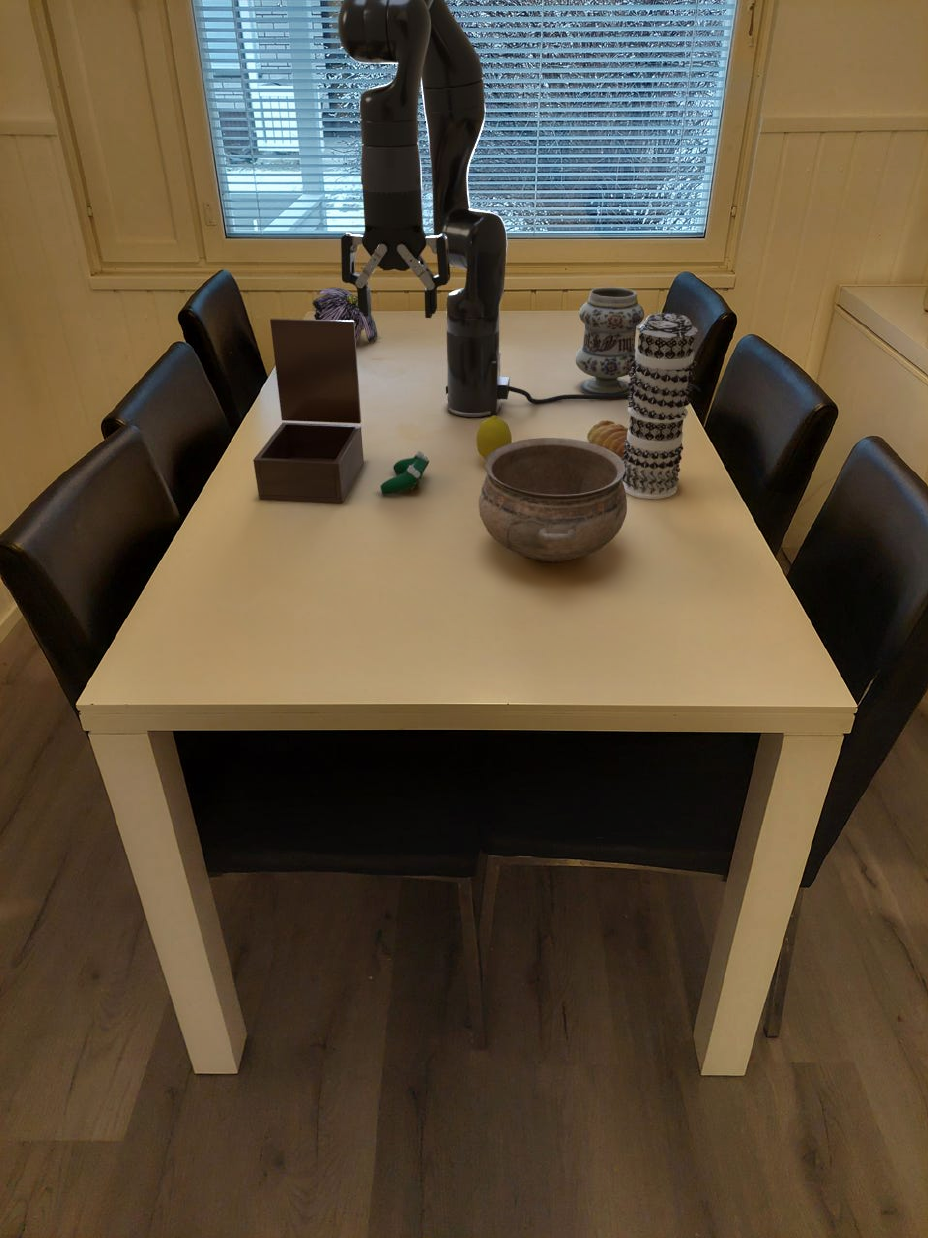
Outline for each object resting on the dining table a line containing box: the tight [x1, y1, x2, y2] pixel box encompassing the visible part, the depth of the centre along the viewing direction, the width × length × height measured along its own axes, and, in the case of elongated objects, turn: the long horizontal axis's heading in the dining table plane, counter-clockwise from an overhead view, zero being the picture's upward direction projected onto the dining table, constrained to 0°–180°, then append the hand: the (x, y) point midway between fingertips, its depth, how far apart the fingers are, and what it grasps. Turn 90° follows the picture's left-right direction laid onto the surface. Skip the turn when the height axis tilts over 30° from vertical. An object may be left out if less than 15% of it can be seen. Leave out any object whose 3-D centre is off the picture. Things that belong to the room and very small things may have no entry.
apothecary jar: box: [574, 286, 645, 394], centre depth 163 cm, size 12×12×18 cm
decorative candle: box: [621, 312, 699, 500], centre depth 125 cm, size 9×9×25 cm
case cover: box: [269, 318, 362, 424], centre depth 135 cm, size 15×13×5 cm
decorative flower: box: [311, 287, 378, 344], centre depth 194 cm, size 15×12×15 cm
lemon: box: [475, 415, 513, 461], centre depth 138 cm, size 6×6×8 cm
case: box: [252, 421, 365, 504], centre depth 134 cm, size 15×13×6 cm
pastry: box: [587, 419, 629, 460], centre depth 143 cm, size 9×7×4 cm
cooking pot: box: [478, 437, 628, 564], centre depth 113 cm, size 25×19×12 cm
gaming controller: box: [380, 450, 430, 495], centre depth 133 cm, size 9×4×6 cm
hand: (398, 315), depth 120 cm, fingers open, 8 cm apart
